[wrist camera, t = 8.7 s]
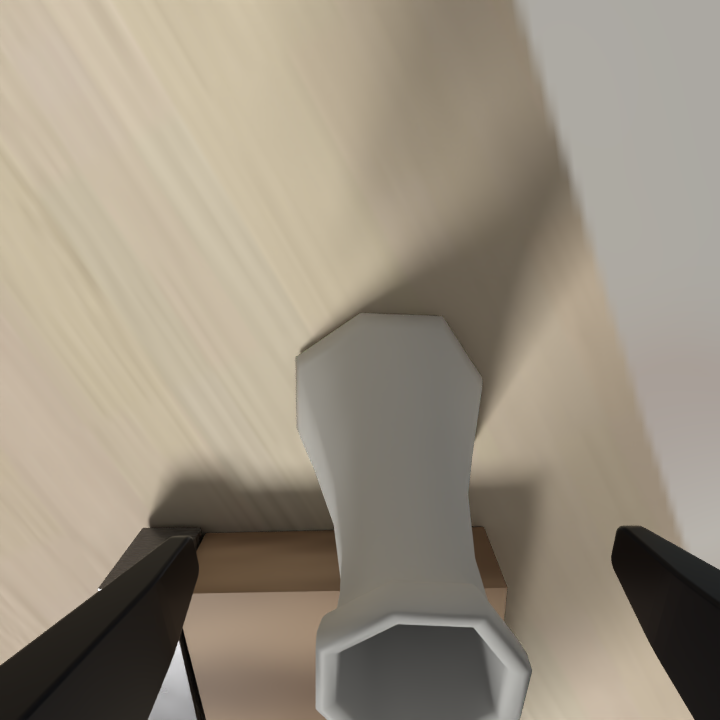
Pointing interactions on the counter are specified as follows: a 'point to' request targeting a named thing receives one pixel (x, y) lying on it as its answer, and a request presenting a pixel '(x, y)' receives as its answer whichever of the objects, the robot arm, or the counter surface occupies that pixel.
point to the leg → (179, 690)
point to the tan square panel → (274, 619)
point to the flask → (403, 527)
